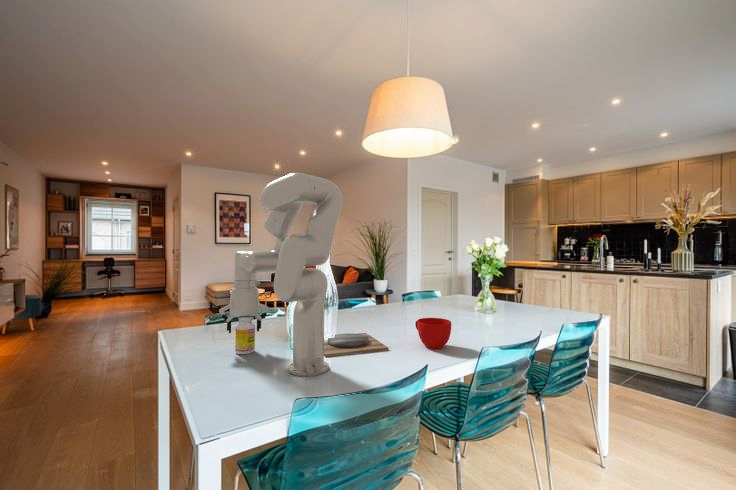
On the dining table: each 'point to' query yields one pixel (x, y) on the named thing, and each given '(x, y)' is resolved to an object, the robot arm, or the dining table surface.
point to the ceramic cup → (434, 332)
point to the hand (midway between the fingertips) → (244, 331)
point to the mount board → (359, 350)
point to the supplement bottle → (245, 336)
